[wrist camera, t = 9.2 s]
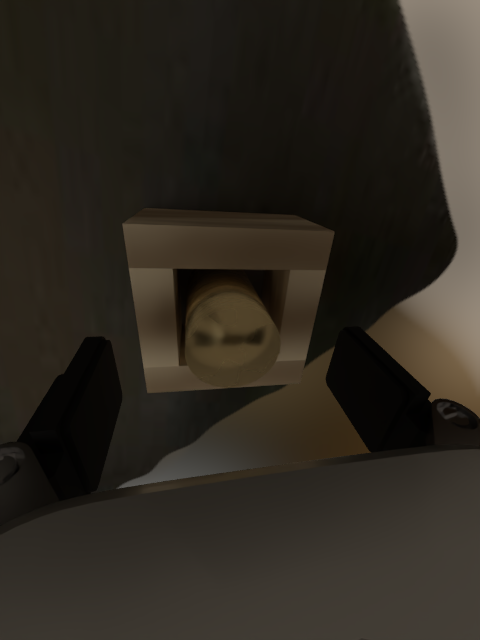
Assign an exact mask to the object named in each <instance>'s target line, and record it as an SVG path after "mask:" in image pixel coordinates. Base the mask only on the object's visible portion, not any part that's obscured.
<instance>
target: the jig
mask: <svg viewBox="0 0 480 640" xmlns="http://www.w3.org/2000/svg"><path fill="white" fill-rule="evenodd" d="M122 225H123V232H124V238H125V245H126V252H127V259H128V265H129V272H130V279H131V285H132V292H133V299H134V306H135V312H136V319H137V326H138V333H139V339H140V346H141V353H142V360H143V366H144V373H145V380H146V386H147V393H157V392H173V391H188V390H204V389H220V388H223V387H216V386H213V385H209V384H207V383H205V382H203V381H201V380H200V379H199V378H197V377H196V376H195V375H194V374H193V373H192V371H191V370H190V369H189V367H188V365H187V362H186V359H185V328H186V295H187V280H188V276H189V274H190V272H191V271H192V269H243V270H244V272H245V273H246V275H247V277H248V279H249V280H250V282H251V284H252V286H253V287H254V289H255V291H256V293H257V294H258V296H259V298H260V299H261V301H262V303H263V305H264V306H265V308H266V310H267V312H268V313H269V315H270V317H271V319H272V320H273V322H274V324H275V326H276V327H277V329H278V332H279V335H280V340H281V347H280V353H279V356H278V358H277V360H276V362H275V364H274V365H273V367H272V368H271V369H270V370H269V371H268V372H267V373H266V374H265V375H264V376H262V377H261V378H259V379H258V380H256V381H254V382H252V383H250V384H247V385H244V386H240V387H251V386H267V385H282V384H298V383H300V382H301V378H302V373H303V369H304V365H305V360H306V356H307V351H308V347H309V343H310V338H311V334H312V329H313V325H314V321H315V316H316V312H317V308H318V303H319V299H320V294H321V290H322V286H323V281H324V277H325V273H326V268H327V264H328V259H329V255H330V251H331V246H332V242H333V237H334V233H335V231H332V230H330V229H327V228H325V227H322V226H320V225H318V224H315V223H313V222H310V221H308V220H306V219H303V218H301V217H298V216H296V215H284V214H263V213H241V212H220V211H199V210H178V209H157V208H144V209H142V210H141V211H140V212H138V213H137V214H135V215H134V216H132V217H131V218H130V219H128V220H127V221H125V222H124V223H123V224H122ZM233 388H235V387H233Z"/></svg>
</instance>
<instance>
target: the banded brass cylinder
mask: <svg viewBox="0 0 480 640" xmlns="http://www.w3.org/2000/svg"><path fill="white" fill-rule="evenodd" d="M280 347H281V340H280V335H279V332H278V329H277V327H276V326H275V324H274V322H273V320H272V319H271V317H270V315H269V313H268V312H267V310H266V308H265V306H264V305H263V303H262V301H261V299H260V298H259V296H258V294H257V293H256V291H255V289H254V287H253V286H252V284H251V282H250V280H249V279H248V277H247V275H246V273H245V272H244V270H243V269H192V271H191V272H190V274H189V276H188V280H187V295H186V328H185V359H186V362H187V365H188V367H189V369H190V370H191V371H192V373H193V374H194V375H195V376H196V377H197V378H199V379H200V380H201V381H203V382H205V383H207V384H209V385H213V386H216V387H223V388H233V387H240V386H244V385H247V384H250V383H252V382H254V381H256V380H258V379H259V378H261V377H262V376H264V375H265V374H266V373H267V372H268V371H269V370H270V369H271V368H272V367H273V365H274V364H275V362H276V360H277V358H278V356H279V353H280Z"/></svg>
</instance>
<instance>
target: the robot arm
mask: <svg viewBox="0 0 480 640" xmlns="http://www.w3.org/2000/svg"><path fill="white" fill-rule="evenodd" d="M326 383H327V386H328V387H329V388H330V390H331V392H332V393H333V395H334V397H335V398H336V400H337V401H338V403H339V404H340V406H341V407H342V409H343V411H344V412H345V414H346V415H347V417H348V418H349V420H350V421H351V423H352V425H353V426H354V427H355V429H356V431H357V432H358V434H359V435H360V437H361V439H362V440H363V442H364V443H365V445H366V447H367V448H368V450H369V451H370V452H372V453H365V454H357V455H350V456H342V457H335V458H327V459H320V460H312V461H306V462H299V463H291V464H284V465H276V466H269V467H262V468H255V469H247V470H240V471H233V472H226V473H219V474H213V475H206V476H198V477H191V478H184V479H177V480H170V481H163V482H157V483H151V484H144V485H138V486H132V487H126V488H119V489H113V490H107V491H102V492H97V493H92V494H91V492H94V491H96V490H97V488H98V485H99V482H100V478H101V474H102V471H103V467H104V464H105V460H106V456H107V453H108V449H109V446H110V442H111V439H112V435H113V431H114V428H115V424H116V421H117V417H118V413H119V410H120V406H121V403H122V390H121V385H120V381H119V376H118V372H117V367H116V363H115V358H114V354H113V349H112V345H111V342H110V340H105V338H104V337H86V338H85V339H84V341H83V343H82V344H81V346H80V348H79V349H78V351H77V353H76V354H75V356H74V358H73V359H72V361H71V363H70V364H69V366H68V368H67V369H66V371H65V373H64V374H61V375H59V376H58V377H57V378H56V379H55V381H54V382H53V384H52V386H51V387H50V389H49V390H48V392H47V394H46V395H45V397H44V398H43V400H42V402H41V403H40V405H39V406H38V408H37V410H36V411H35V413H34V415H33V416H32V418H31V419H30V421H29V423H28V424H27V426H26V427H25V429H24V431H23V432H22V434H21V436H20V437H19V439H18V440H17V442H8V443H4V444H0V640H480V418H479V417H478V416H477V415H476V414H475V413H474V412H472V411H471V410H470V409H468V408H466V407H465V406H463V405H462V404H459V403H457V402H455V401H452V400H448V399H435V400H434V401H433V402H432V403H431V402H430V401H429V400H428V398H429V396H430V394H431V393H430V392H429V391H428V390H427V389H426V388H425V387H423V386H422V385H421V384H420V383H419V382H418V381H417V380H416V379H415V378H414V377H413V376H412V375H411V374H409V373H408V372H407V371H406V370H405V369H404V368H403V367H402V366H401V365H400V364H399V363H398V362H396V360H394V359H393V358H392V357H391V356H390V355H389V354H388V353H387V352H386V351H385V350H383V348H382V347H381V346H379V345H378V344H377V343H376V342H375V341H374V340H373V339H372V338H371V337H370V336H369V335H368V334H367V333H366V332H364V331H363V330H362V329H361V328H360V327H345V328H344V329H343V330H342V331H340V333H339V335H338V339H337V342H336V345H335V349H334V352H333V355H332V359H331V362H330V365H329V369H328V372H327V375H326Z"/></svg>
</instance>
